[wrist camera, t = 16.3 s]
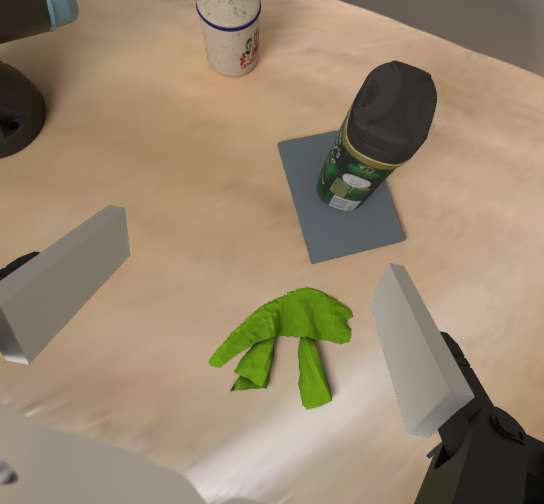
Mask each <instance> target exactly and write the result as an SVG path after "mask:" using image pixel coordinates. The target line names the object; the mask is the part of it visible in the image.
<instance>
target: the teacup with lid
mask: <svg viewBox="0 0 544 504" xmlns="http://www.w3.org/2000/svg"><path fill="white" fill-rule="evenodd" d="M196 8H197V11H198V14H199V16H200V20H201V25H202V31H203V36H204V41H205V47H206V52H207V57H208V61H209V63H210V65H211V66H212V67H213V69H214V70H216V71H217V72H218V73H220V74H222V75H225V76H229V77H239V76H243V75H245V74H247V73H249V72H250V71H251V70H252V69H253V68H254V67H255V65H256V64H257V61H258V45H259V14H260V10H261V2H260V0H196Z"/></svg>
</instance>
